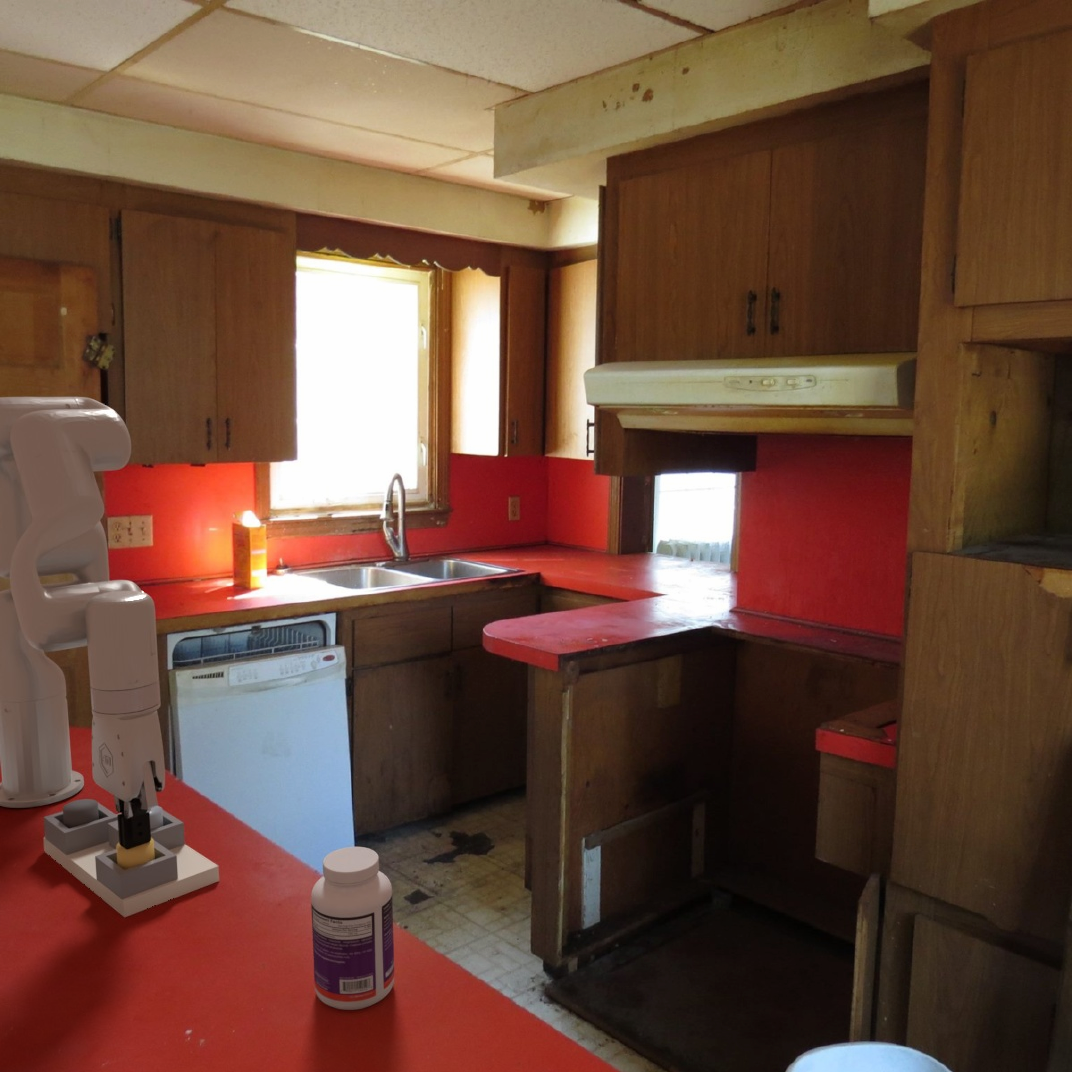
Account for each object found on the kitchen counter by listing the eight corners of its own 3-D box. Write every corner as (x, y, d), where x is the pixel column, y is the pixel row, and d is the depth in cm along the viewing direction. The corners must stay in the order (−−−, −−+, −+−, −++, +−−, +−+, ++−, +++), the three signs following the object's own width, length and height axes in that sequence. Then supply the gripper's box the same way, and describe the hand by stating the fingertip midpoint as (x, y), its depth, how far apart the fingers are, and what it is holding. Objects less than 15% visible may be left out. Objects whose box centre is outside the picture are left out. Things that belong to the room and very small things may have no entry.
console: (44, 851, 133) (41, 815, 132) (132, 823, 142) (130, 789, 141) (124, 917, 117) (121, 877, 116) (219, 880, 125) (217, 843, 124)
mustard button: (112, 874, 121) (110, 843, 121) (145, 863, 124) (144, 832, 124) (127, 886, 119) (125, 854, 118) (161, 874, 122) (159, 843, 121)
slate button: (123, 841, 130) (121, 811, 130) (154, 830, 133) (153, 802, 133) (138, 851, 128) (136, 821, 127) (169, 840, 131) (168, 811, 130)
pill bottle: (359, 959, 108) (355, 833, 106) (411, 987, 103) (408, 855, 101) (298, 994, 102) (292, 861, 100) (350, 1026, 97) (345, 886, 95)
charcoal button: (59, 834, 132) (57, 805, 132) (91, 824, 135) (89, 796, 135) (72, 844, 130) (70, 815, 129) (105, 834, 133) (103, 805, 132)
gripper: (67, 690, 121) (78, 835, 123) (122, 718, 110) (132, 875, 113) (129, 677, 126) (137, 816, 129) (186, 703, 116) (194, 853, 118)
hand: (135, 843), depth 121 cm, fingers closed
